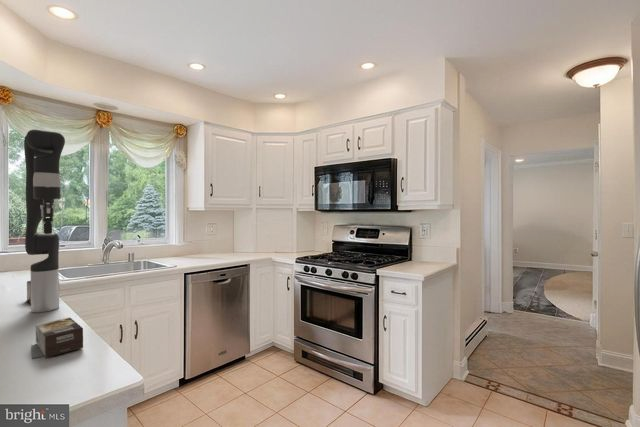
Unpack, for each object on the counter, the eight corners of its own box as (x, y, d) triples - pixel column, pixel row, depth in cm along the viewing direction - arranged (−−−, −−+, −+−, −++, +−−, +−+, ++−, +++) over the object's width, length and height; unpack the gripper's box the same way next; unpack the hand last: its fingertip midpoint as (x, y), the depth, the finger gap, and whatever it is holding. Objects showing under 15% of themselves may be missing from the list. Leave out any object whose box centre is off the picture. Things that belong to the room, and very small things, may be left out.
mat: (31, 346, 100) (31, 345, 100) (71, 337, 107) (71, 336, 107) (32, 359, 92) (32, 357, 92) (75, 348, 98) (75, 347, 98)
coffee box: (70, 316, 108) (84, 327, 98) (70, 335, 108) (84, 348, 98) (35, 323, 101) (45, 336, 91) (35, 343, 101) (45, 358, 91)
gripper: (32, 186, 118) (33, 233, 118) (33, 184, 108) (34, 235, 108) (58, 187, 123) (59, 232, 123) (61, 185, 113) (62, 234, 113)
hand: (48, 233), depth 116 cm, fingers closed
